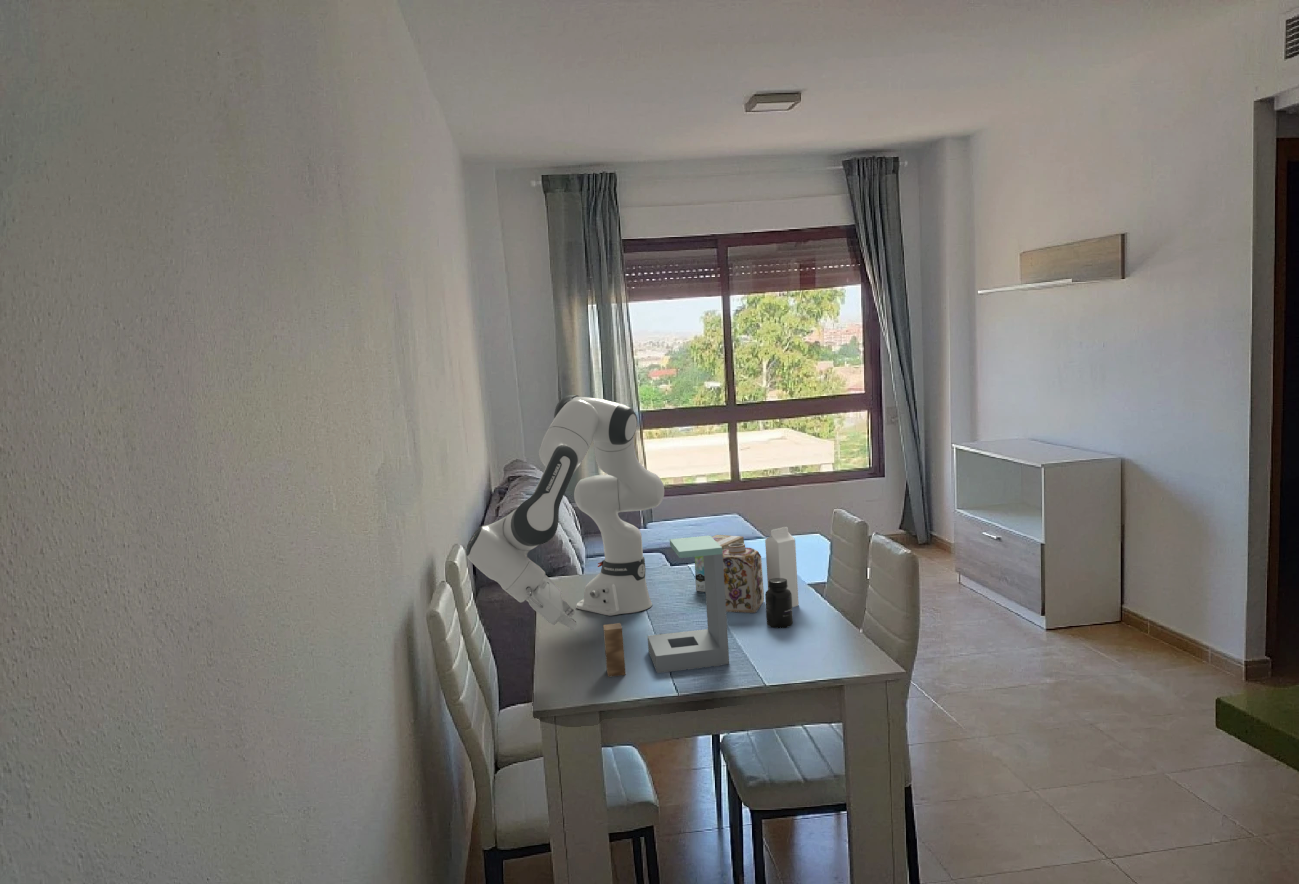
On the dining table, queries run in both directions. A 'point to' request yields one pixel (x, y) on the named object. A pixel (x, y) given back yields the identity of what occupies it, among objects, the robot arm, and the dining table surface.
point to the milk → (782, 560)
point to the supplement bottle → (778, 604)
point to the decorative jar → (742, 579)
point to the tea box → (699, 562)
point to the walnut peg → (614, 649)
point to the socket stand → (711, 642)
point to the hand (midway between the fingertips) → (573, 620)
